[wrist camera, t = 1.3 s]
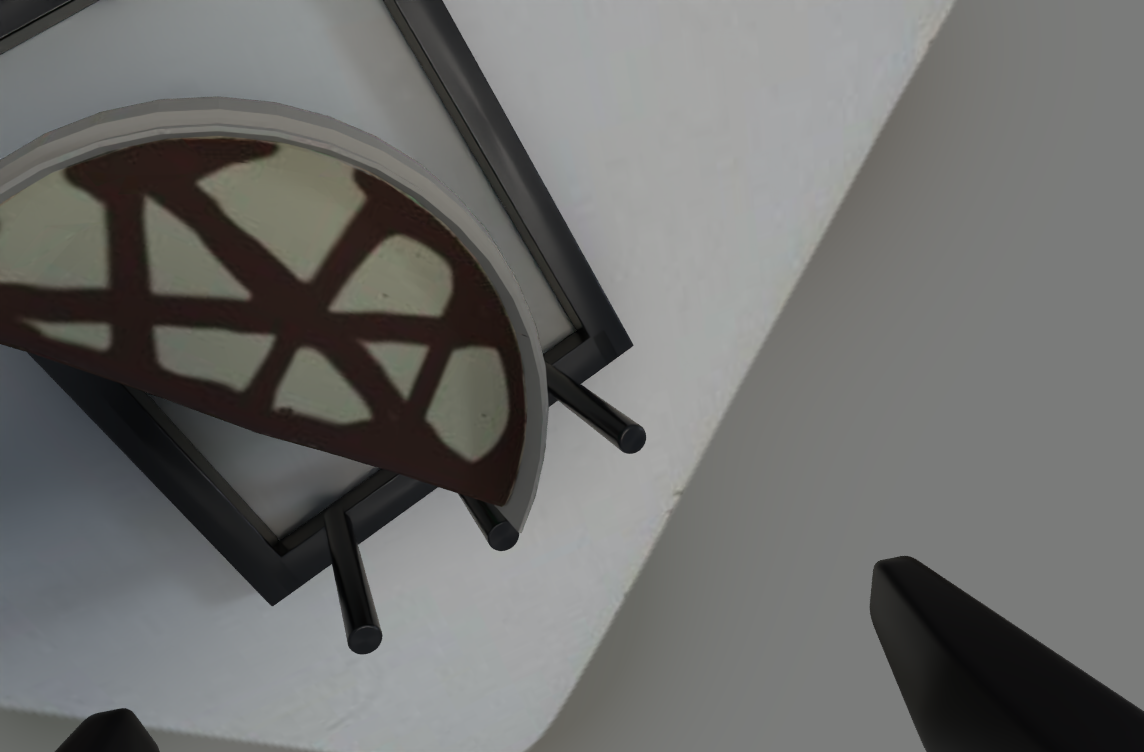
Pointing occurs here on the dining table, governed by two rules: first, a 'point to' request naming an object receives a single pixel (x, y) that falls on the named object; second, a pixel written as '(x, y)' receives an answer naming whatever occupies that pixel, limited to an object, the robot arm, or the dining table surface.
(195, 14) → the dining table surface
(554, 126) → the dining table surface
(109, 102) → the dining table surface
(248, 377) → the food container
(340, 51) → the dining table surface
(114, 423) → the drying rack
